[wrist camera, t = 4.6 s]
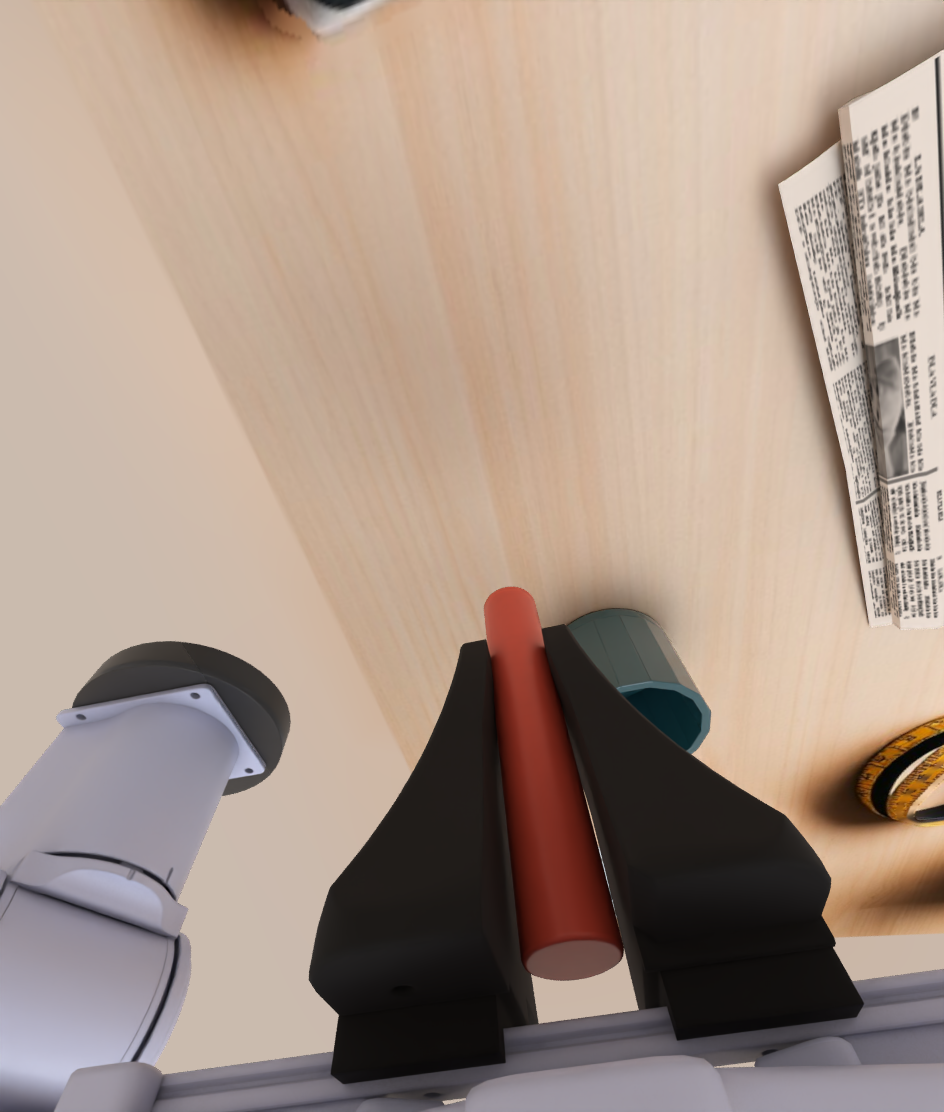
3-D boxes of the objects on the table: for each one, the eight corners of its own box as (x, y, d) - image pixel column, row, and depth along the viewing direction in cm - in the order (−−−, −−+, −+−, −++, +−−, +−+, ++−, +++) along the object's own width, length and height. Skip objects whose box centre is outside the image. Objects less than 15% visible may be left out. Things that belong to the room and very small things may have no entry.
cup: (553, 707, 28) (573, 788, 24) (538, 621, 24) (558, 697, 20) (666, 687, 27) (707, 766, 23) (667, 597, 24) (714, 669, 20)
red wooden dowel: (489, 630, 16) (529, 988, 8) (479, 591, 15) (513, 947, 7) (538, 621, 16) (627, 975, 8) (531, 580, 15) (623, 931, 7)
